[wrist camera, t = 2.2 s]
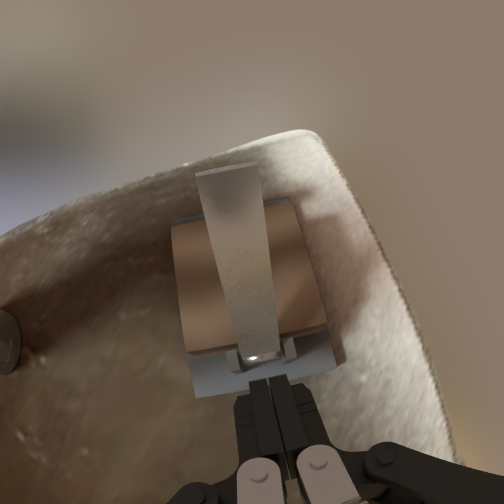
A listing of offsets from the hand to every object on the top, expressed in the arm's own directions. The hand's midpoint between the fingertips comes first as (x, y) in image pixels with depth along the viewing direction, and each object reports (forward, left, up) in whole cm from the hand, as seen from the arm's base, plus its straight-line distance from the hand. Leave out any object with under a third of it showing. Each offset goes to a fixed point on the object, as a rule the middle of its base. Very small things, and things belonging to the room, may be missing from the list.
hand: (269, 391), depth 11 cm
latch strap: (-3, +6, -6) cm, 9 cm away
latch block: (-5, +9, -19) cm, 21 cm away
